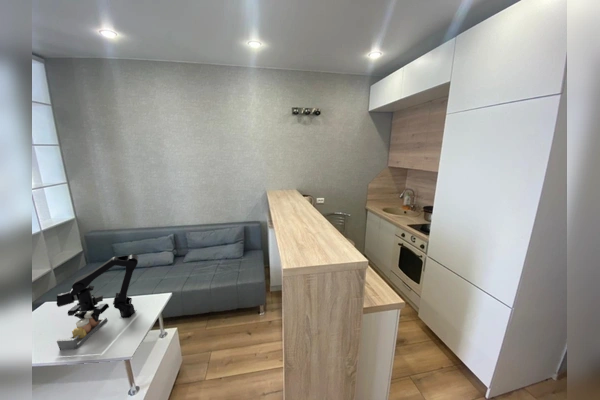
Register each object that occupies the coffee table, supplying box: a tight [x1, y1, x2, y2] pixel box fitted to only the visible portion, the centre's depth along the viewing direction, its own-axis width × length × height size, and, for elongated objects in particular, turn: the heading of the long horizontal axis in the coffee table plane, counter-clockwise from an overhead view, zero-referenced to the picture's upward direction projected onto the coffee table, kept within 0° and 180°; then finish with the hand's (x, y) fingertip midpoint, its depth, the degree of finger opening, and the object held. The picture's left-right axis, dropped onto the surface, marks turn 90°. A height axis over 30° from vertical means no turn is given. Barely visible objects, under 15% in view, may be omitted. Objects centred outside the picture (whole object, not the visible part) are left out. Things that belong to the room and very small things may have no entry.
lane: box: [56, 317, 108, 351], centre depth 125 cm, size 20×8×6 cm, turn 2°
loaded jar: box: [75, 318, 92, 334], centre depth 125 cm, size 5×5×8 cm
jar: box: [84, 311, 100, 328], centre depth 130 cm, size 5×5×8 cm
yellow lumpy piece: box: [71, 327, 87, 339], centre depth 121 cm, size 4×6×6 cm, turn 92°
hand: (92, 321), depth 130 cm, fingers closed on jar, 5 cm apart
